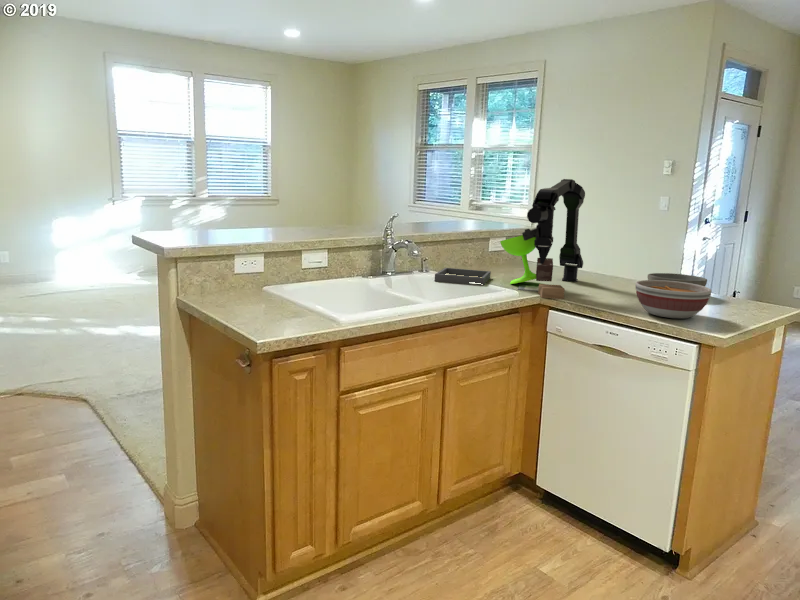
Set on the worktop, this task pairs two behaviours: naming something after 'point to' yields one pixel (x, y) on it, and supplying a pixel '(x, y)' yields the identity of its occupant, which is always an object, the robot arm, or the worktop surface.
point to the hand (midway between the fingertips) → (542, 262)
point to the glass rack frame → (464, 279)
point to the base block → (551, 291)
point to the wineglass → (520, 254)
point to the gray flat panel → (528, 288)
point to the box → (544, 270)
